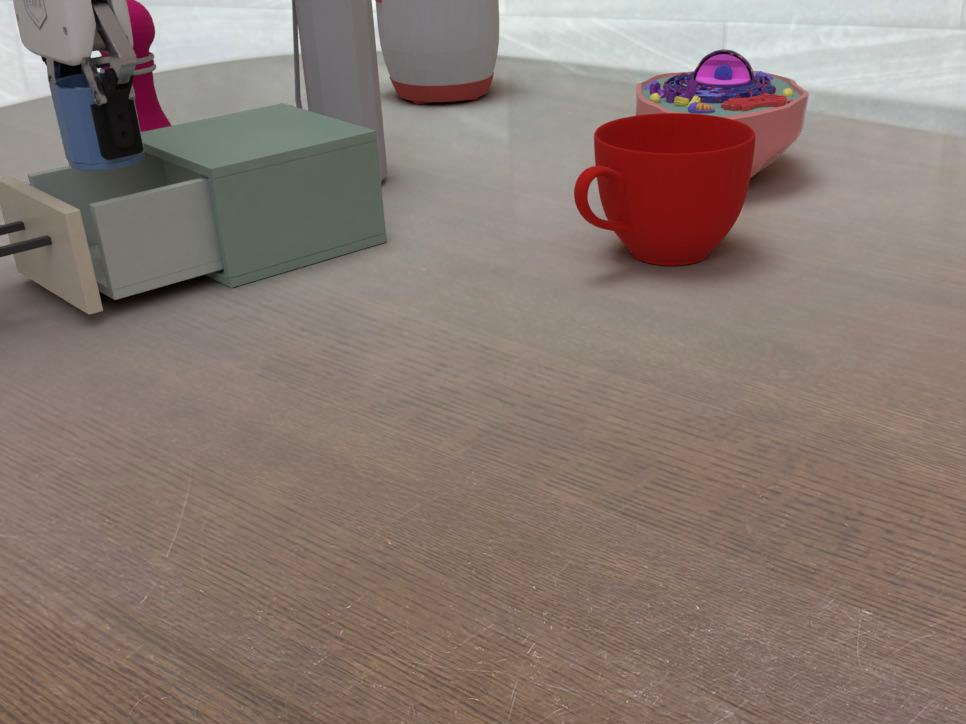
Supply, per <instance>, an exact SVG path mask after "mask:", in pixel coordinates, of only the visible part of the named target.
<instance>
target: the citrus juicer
mask: <svg viewBox="0 0 966 724" xmlns="http://www.w3.org/2000/svg"><path fill="white" fill-rule="evenodd" d="M374 1H375V10H376V11H375V12H376V20H377V22H376V24H377V30H378V39H379V45H380V49H381V54H382V56H383V60H384V64H385V67H386V68H387V73H388V75H389V81H390V82H391V84H392V87H393V88H394V90H395V93H396V94H397V96H398V97H399V98H401V99H403V100H408V101H412V103H413V104H416V105H425V104H429V103H450V102H459V101H460V102H461V101H464V102H465V101H466V102H472V101H477V100H479V97H482V96H484V95H486V94H487V93H488V92H489V90H490V87H491V84H492V82H493V78H494V75H495V67H496V63H497V59H498V52H499V43H500V4H499V3H500V2H499V1H500V0H374Z"/></svg>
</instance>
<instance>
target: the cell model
mask: <svg viewBox="0 0 966 724" xmlns="http://www.w3.org/2000/svg"><path fill="white" fill-rule="evenodd" d="M635 92H636V93H635V116H637V115H645V114H658V113H691V114H704V115H712V116H719V117H724V118H729V119H732V120H736V121H739V122H742V123H744V124H746V125H748V126H749V127H751V128H752V129H753V131H754V132H755V149H754V157H753V164H752V170H751V176H750V179H751V178H753V177H755V175H756V174H758V173H759V172H761V171H762V170H764V169H766V168H767V167H769V166H770V165H772V164H773V163H775V162H776V161H777V160H778V159H779V158H781V156H783V154H784V153H785V152H786V151H787V150H788V149H789V148H790V147H791V146H792V145H794V144H795V143H796V141H797V140H798V139H799V138H800V136H801V135H802V132H803V130H804V125H805V119H806V113H807V107H808V102H809V97H810V92H808V91H807V90H806V89H804V88H803V87H801V86H800V85H799V84H797V82H796V80H794V79H792V78H789V77H786V76H781V75H778V74H773V73H769V72H765V71H761V70H754V69H753V67H752V65H751V64H750V61H748V59H746V58H745V57H744V56H743V55H741V53H739V52H737V51H736V50H732V49H723V48H722V49H717V50H714V51H711V52H709V53H708V54H706V55H704V57H702V58H701V60H699V62H698V64H697V65H696V67H695V69H694V70H693V71H692V70H691V71H682V72H669V73H661V74H657V75H655V76H653V77H651V78H648V79H646V80H643V81H642V82H639V83H637V84H636V85H635Z"/></svg>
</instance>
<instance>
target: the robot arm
mask: <svg viewBox="0 0 966 724" xmlns="http://www.w3.org/2000/svg"><path fill="white" fill-rule="evenodd" d="M12 5H13V9H14V14H15V18H16V22H17V28H18V32H19V37H20V40H21V43H22V45H23V46H24V47H25V48H26V50H28V51H29V52H31V53H32V54H33V55H36V56H39V57H40V58H41V61H42V62H43V63H44V64H45V66H46V73H47V81H48V85H50V83H51V81H53V80H55V79H58V78H61V77H65V76H70V75H76V74H81V73H85V75H86V78H87V81H88V84H89V87H90V89H91V92H92V95H93V98H94V100H95V103H96V104H92V105H90V107H91V112H92V116H93V121H94V125H95V130H96V135H97V139H98V144H99V148H100V153H101V156H102V157H103V158H104V159H106V160H113V159H117V158H122V157H126V156H131V155H136V154H140V153H142V151H143V144H142V139H141V134H140V129H139V123H138V118H137V113H136V108H135V103H134V99H135V91H134V88H133V85H132V84H133V79H134V74H133V72H134V69H135V66H136V63H137V57H136V54H135V52H134V50H133V36H132V29H131V22H130V17H129V12H128V6H127V2H126V0H12ZM99 51H100V52H104V53H107V54H109V55H106V56H102V55H99V56H95V57H92V55H93V54H92V53H93V52H99ZM100 52H99V53H100ZM104 67H110V68H108V69H105V71H104V75H103V79H102V82H101V79H100V76H99V73H98V72H99V71H98V69H100V68H104Z"/></svg>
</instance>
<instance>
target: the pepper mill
mask: <svg viewBox="0 0 966 724" xmlns="http://www.w3.org/2000/svg"><path fill="white" fill-rule="evenodd" d="M126 2H127V6H128V12H129V17H130V22H131V29H132V36H133V50H134V52H135V54H136V57H137V63H136V66H135V69H134V72H133V74H134V79H133V84H132V85H133V88H134V91H135V99H134V101H135V106H136V111H137V116H138V121H139V126H140V131H141V132H145V131H149V130H154V129H159V128H164V127H169V126H173V125H172V123H171V122H170V120H169V119H168V117H167V116H166V114H165V112H164V111H163V109H162V106H161V104H160V101H159V98H158V95H157V91H156V87H155V81H154V71H155V70H156V69H157V64H156V63H155V60H154V59H155V54H154V53H153V52H151V51H150V48H151V46H152V44H153V42H154V40H155V37H156V27H155V23H154V20H153V19H154V18H153V17H152V15H151V14H150V11H149V10H148V9H147V7H146V6H145V5H143V4H142V3H141V2H139V1H138V0H126ZM98 52H99V53H100V56H106V55H109V54H107V53H104V52H100V51H98ZM108 68H110V67H104V68H99V72H104V71H105V69H108Z"/></svg>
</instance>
